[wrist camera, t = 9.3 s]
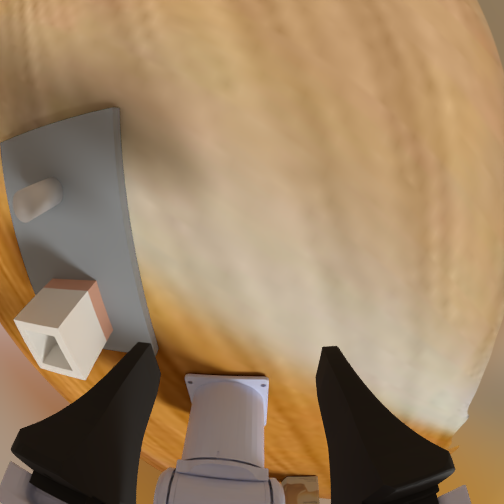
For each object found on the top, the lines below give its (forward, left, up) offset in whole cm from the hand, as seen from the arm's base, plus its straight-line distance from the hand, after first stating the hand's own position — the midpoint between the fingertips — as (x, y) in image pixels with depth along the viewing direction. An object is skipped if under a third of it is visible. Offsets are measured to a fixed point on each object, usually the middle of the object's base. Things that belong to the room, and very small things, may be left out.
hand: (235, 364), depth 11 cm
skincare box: (-47, -9, -10) cm, 49 cm away
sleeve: (-4, +14, -8) cm, 17 cm away
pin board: (+1, +14, -9) cm, 17 cm away
